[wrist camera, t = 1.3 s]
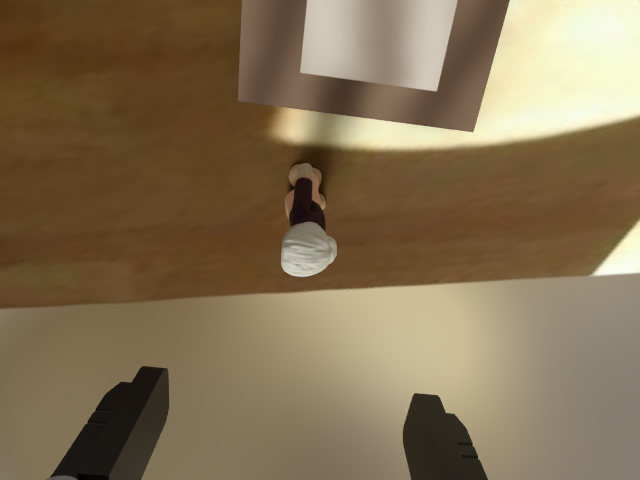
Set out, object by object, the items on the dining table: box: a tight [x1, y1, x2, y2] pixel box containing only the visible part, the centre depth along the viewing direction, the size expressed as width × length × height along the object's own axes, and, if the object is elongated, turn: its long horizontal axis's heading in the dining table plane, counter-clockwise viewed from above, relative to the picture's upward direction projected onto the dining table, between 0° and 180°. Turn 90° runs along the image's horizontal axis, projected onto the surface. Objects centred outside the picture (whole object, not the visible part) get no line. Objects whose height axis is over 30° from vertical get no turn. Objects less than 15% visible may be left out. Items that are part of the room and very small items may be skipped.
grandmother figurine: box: [281, 163, 337, 277], centre depth 27 cm, size 8×4×13 cm, turn 17°
